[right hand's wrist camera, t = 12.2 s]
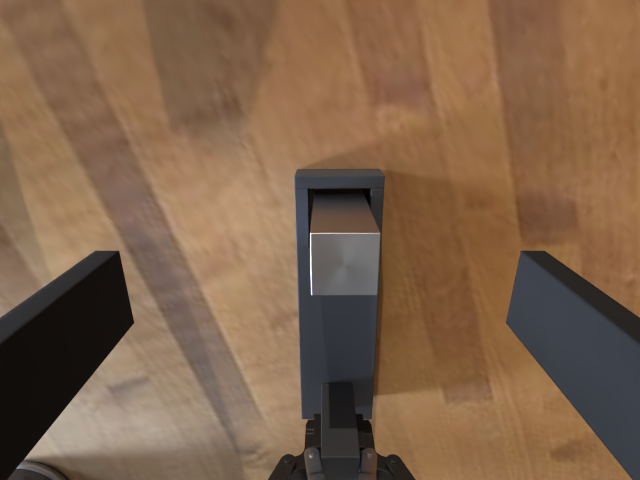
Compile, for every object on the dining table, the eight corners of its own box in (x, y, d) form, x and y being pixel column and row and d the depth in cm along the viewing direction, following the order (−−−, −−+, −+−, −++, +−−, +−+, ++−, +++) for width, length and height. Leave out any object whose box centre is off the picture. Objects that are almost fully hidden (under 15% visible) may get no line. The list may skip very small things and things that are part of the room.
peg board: (368, 397, 41) (383, 498, 30) (303, 397, 41) (296, 498, 30) (379, 168, 32) (405, 202, 22) (296, 169, 32) (284, 202, 22)
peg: (315, 230, 34) (311, 295, 23) (314, 186, 33) (309, 233, 21) (359, 230, 34) (377, 295, 23) (361, 186, 33) (380, 233, 21)
